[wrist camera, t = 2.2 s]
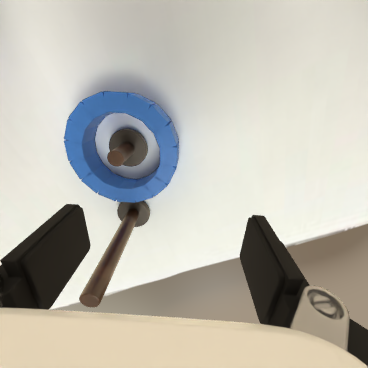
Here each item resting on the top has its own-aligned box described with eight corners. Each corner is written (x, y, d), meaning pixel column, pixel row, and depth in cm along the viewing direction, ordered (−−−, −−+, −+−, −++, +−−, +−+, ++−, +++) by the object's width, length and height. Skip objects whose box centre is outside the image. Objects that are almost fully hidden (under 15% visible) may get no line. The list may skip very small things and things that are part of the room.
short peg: (147, 129, 23) (136, 137, 19) (148, 165, 25) (138, 180, 21) (109, 127, 23) (89, 134, 19) (113, 163, 25) (96, 177, 21)
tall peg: (149, 198, 28) (113, 284, 15) (150, 224, 30) (119, 319, 17) (117, 196, 28) (55, 280, 15) (120, 222, 30) (68, 316, 17)
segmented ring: (180, 95, 22) (179, 94, 19) (177, 193, 27) (175, 205, 24) (70, 89, 22) (51, 88, 19) (89, 188, 27) (77, 199, 24)
